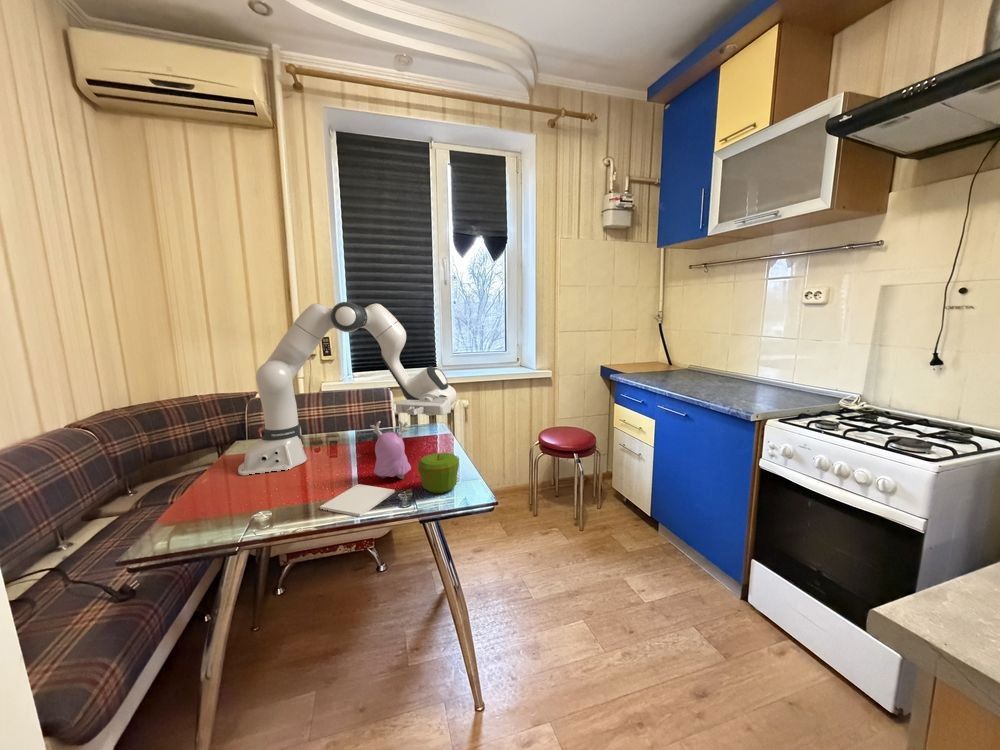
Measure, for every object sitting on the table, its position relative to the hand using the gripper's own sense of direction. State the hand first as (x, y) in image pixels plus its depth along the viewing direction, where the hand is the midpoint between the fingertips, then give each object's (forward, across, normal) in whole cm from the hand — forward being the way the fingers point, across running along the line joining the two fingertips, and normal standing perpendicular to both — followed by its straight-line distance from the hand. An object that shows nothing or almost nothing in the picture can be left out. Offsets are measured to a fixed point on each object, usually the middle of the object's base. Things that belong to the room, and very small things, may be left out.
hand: (410, 412), depth 146 cm
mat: (+30, 0, +19) cm, 35 cm away
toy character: (+12, 0, +20) cm, 23 cm away
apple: (+15, +19, +20) cm, 31 cm away
